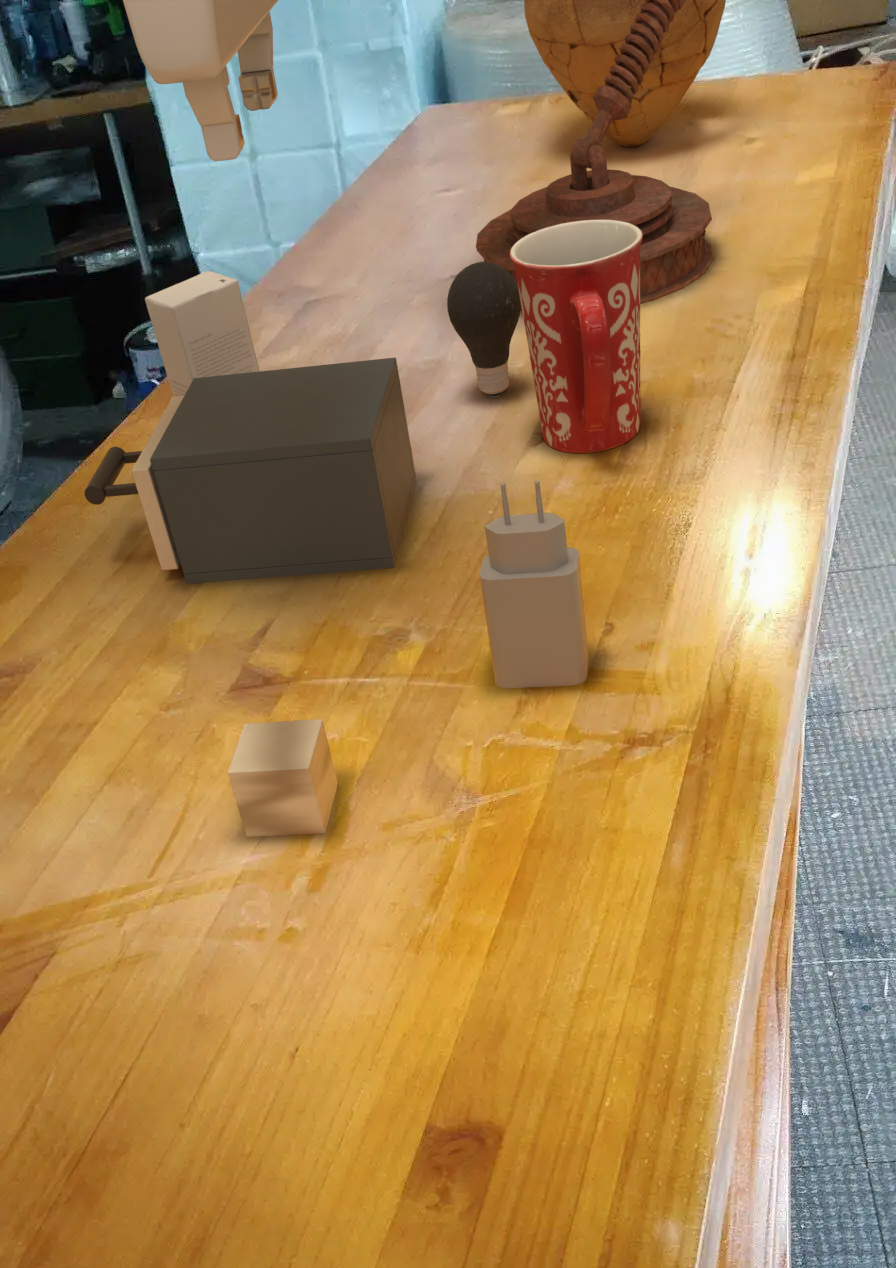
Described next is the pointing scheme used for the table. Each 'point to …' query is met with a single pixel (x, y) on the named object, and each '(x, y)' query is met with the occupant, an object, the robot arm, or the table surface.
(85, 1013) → the table surface
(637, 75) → the desk lamp
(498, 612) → the power adapter
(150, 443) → the drawer
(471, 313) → the light bulb
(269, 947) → the table surface
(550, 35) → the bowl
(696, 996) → the table surface
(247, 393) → the cabinet
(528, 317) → the mug
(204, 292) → the cosmetic box
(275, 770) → the block
